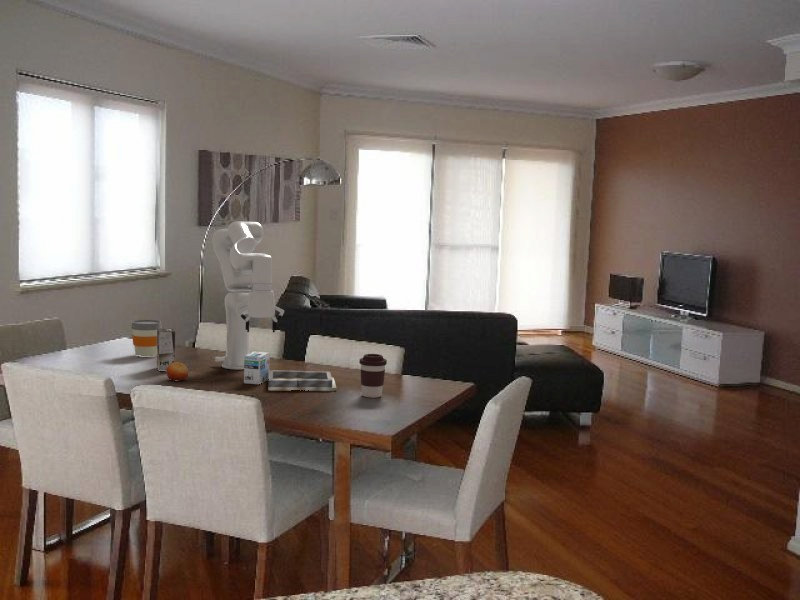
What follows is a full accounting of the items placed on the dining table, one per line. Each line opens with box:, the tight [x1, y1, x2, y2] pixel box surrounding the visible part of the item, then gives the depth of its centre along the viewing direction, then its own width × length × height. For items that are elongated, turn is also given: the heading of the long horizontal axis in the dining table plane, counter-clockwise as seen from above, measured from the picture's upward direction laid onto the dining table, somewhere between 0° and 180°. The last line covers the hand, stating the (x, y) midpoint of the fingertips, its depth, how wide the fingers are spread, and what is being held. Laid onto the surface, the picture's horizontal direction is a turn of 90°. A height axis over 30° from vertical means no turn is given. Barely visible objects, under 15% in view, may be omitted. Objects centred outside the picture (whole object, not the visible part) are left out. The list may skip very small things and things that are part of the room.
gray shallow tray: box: [267, 369, 337, 392], centre depth 307 cm, size 25×18×4 cm
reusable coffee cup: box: [131, 319, 163, 356], centre depth 350 cm, size 13×12×15 cm
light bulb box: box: [243, 350, 271, 385], centre depth 310 cm, size 11×7×11 cm, turn 170°
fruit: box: [165, 361, 189, 381], centre depth 306 cm, size 8×8×8 cm
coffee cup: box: [359, 353, 388, 399], centre depth 294 cm, size 10×10×15 cm
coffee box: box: [156, 327, 176, 371], centre depth 324 cm, size 9×6×16 cm
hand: (261, 331), depth 309 cm, fingers open, 9 cm apart
